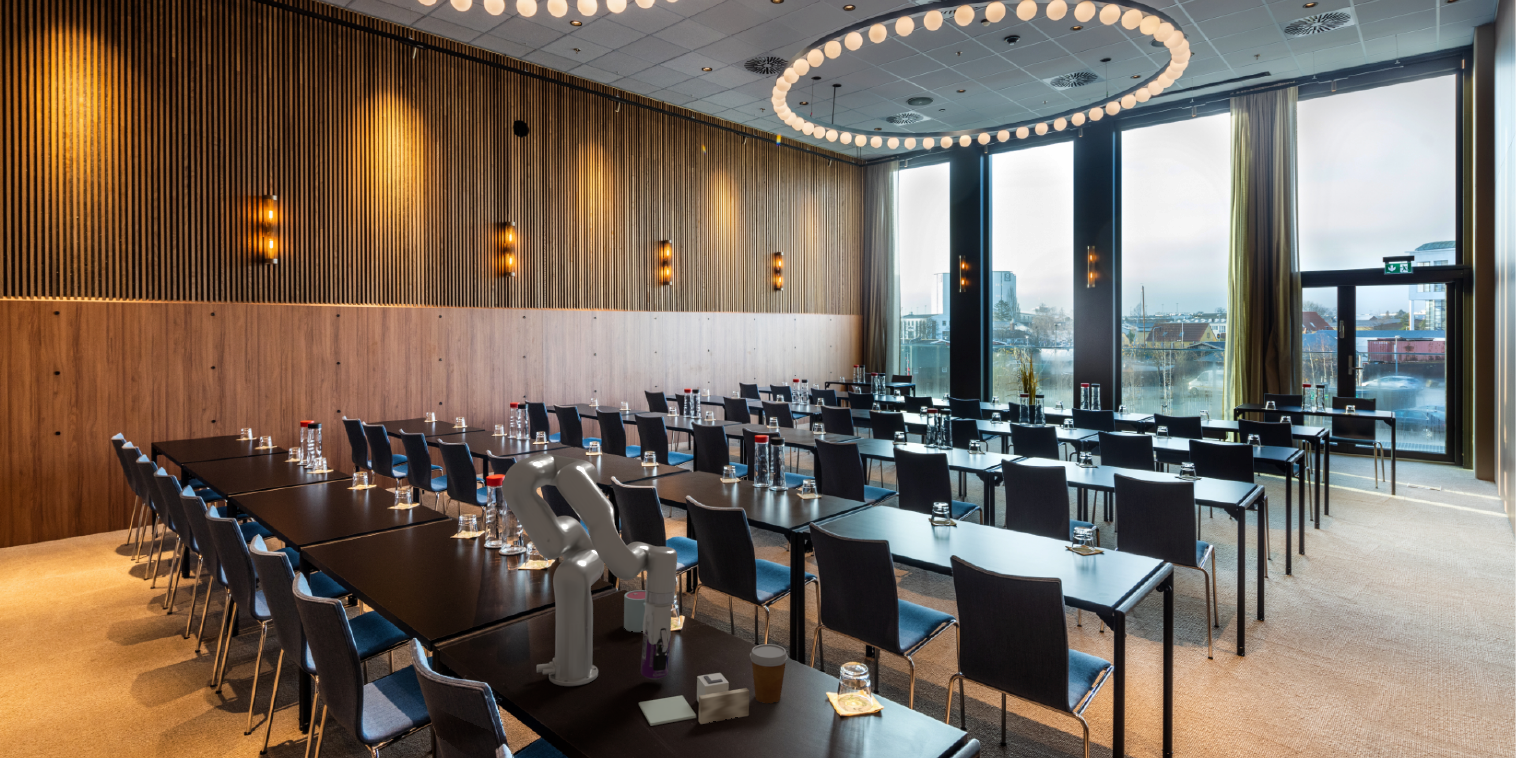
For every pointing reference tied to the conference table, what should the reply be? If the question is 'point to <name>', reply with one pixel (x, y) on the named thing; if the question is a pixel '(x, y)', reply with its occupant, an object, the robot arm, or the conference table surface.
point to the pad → (667, 710)
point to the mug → (634, 610)
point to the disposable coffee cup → (768, 671)
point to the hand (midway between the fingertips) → (655, 662)
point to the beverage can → (652, 659)
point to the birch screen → (723, 705)
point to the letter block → (711, 684)
